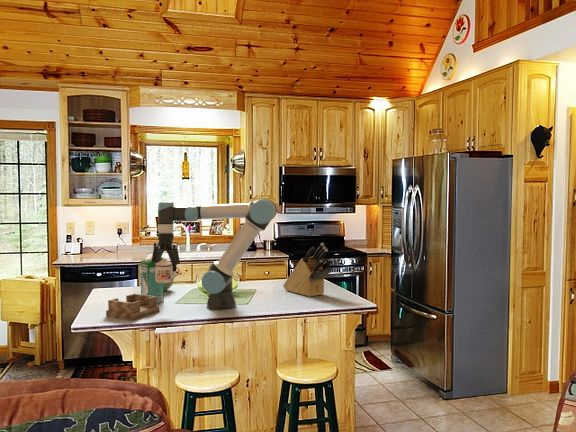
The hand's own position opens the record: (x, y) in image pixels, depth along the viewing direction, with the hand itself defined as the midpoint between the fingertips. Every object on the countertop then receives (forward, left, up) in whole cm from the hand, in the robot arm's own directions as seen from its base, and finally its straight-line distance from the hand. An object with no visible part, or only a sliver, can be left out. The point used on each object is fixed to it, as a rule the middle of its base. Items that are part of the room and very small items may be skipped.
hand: (165, 276), depth 253 cm
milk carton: (+23, -16, -18) cm, 34 cm away
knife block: (-46, -71, -18) cm, 87 cm away
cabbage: (+38, -41, -18) cm, 59 cm away
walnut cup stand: (+12, +10, -18) cm, 24 cm away
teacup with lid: (-1, 0, -2) cm, 3 cm away
